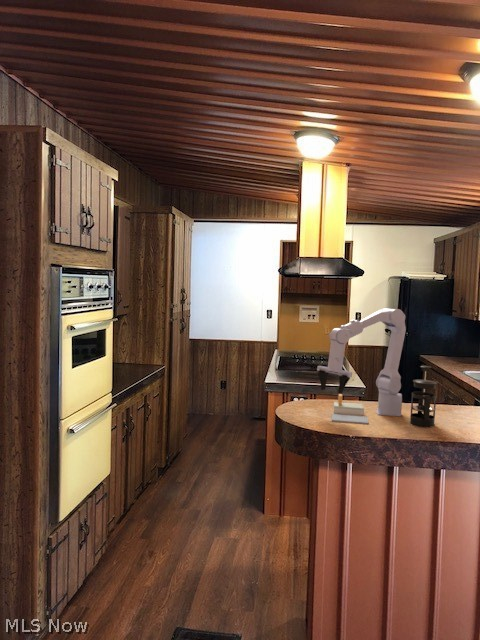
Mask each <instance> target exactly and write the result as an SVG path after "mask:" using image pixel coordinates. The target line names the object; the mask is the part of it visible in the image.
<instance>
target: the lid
mask: <svg viewBox="0 0 480 640" xmlns="http://www.w3.org/2000/svg"><path fill="white" fill-rule="evenodd" d="M333 406H334V408H340V409H353V410H364V411H365V408H364V407H365V406H364V404H363V403H353V402H343V393H342V394H338V401H333Z"/></svg>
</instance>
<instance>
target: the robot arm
mask: <svg viewBox="0 0 480 640" xmlns="http://www.w3.org/2000/svg"><path fill="white" fill-rule="evenodd" d="M405 320H406V315H405V312H404V311H402V309H399V308H388V307H383V308H380V309H377V311H375V312H373V313H371V314H369V315H368V316H366V317H365V318H363V319H360V320H357V319H351V320H349V322H348V323H346V324H342V325H340V326H339V327H335V328H333V329H332V330H331V331H330V333H328V337H329V340H330V348H329V355H328V362H327V363H328V364H327V366H323V365H317V368H316V371H318V372H317V374H318V378H319V382H320V389H321V390H322V391H324V390H325V391H326V388H327V381H328V377H329V374H333V375H338V376H339V377H338V379H339V384H338V392H337V393H338V395H339V394H342V395H343V393H344V390H345V387H346V385H347V384H348V383H349V381H350V379H351V378H352V377H353V372H351V371H348V370H343V367H344V366H343V364H344V358H345V356H344V355H345V349H346V344H347V343H348V342H349V340H350V339H351V338H354V337H356V336H359V335H360V334H362V333H363V331H364V329H366V328H368V327H371V326H372V325H375V324H377V323H379V322H381V323H382V324H384V325H385V326H387V328H388V329H389V330H390V336H389V337H390V338H389V343H388V348H387V351H386V358H385V363H384V366H383V369H381V370H380V372H379V374H378V376H377V378H376V380H375V385H376V387H377V388H378V400H377V402H378V403H377V404H378V405H377V409H375V411H376V412H375V413H377V415H379V416H389V417H390V416H392V417H402V408H403V407H402V406H403V405H402V404H403V394H402V393H399V392H400V390H401V388H402V383H401V379H402V376H401V375H400V373H399V366H400V362H401V361H400V360H401V355H402V351H403V347H404V340H405V335H406V331H407V328H406V322H405Z"/></svg>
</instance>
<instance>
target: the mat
mask: <svg viewBox="0 0 480 640" xmlns="http://www.w3.org/2000/svg"><path fill="white" fill-rule="evenodd" d="M330 415H331V422H334V421H335V422H338V423H347V424H348V423H349V424H362V425H369V424H370V423H369V420H368V416H366V415H364V416H356V415H343V414H334V413H331V414H330Z"/></svg>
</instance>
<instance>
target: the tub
mask: <svg viewBox="0 0 480 640" xmlns="http://www.w3.org/2000/svg"><path fill="white" fill-rule="evenodd" d="M332 410H333V411H334V412H333V414H343V415H356V416H365V415H364V413H365V409H364V410H353V409H340V408H334V405H333V406H332Z"/></svg>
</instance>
